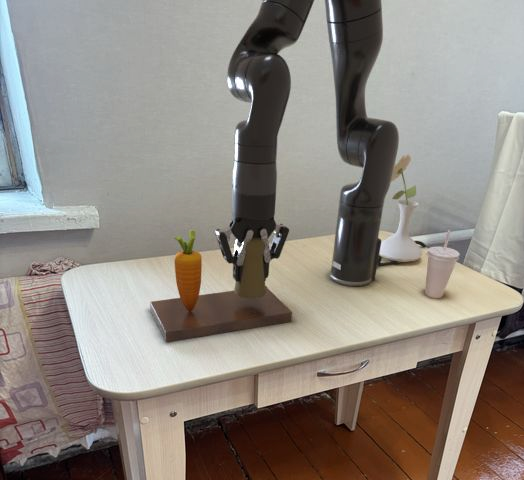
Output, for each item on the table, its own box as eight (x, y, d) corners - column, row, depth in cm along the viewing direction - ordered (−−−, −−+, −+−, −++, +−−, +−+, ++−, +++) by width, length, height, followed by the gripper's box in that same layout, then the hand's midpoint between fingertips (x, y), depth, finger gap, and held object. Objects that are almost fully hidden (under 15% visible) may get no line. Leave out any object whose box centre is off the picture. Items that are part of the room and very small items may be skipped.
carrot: (181, 319, 90) (178, 238, 82) (172, 308, 94) (168, 228, 86) (207, 314, 92) (206, 234, 84) (197, 303, 96) (195, 226, 88)
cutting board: (265, 294, 105) (266, 286, 104) (291, 321, 95) (292, 312, 94) (150, 311, 97) (149, 301, 95) (166, 342, 87) (165, 332, 86)
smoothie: (450, 292, 110) (467, 229, 103) (446, 303, 105) (463, 238, 98) (421, 285, 113) (435, 224, 105) (415, 296, 108) (430, 232, 100)
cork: (262, 300, 93) (265, 242, 87) (230, 296, 94) (231, 238, 88) (268, 287, 98) (271, 232, 92) (238, 283, 99) (239, 228, 93)
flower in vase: (399, 247, 134) (418, 147, 121) (430, 262, 126) (454, 156, 113) (360, 253, 129) (376, 150, 116) (389, 269, 120) (410, 159, 107)
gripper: (221, 195, 80) (221, 294, 89) (301, 191, 85) (293, 284, 94) (207, 184, 86) (208, 277, 95) (282, 181, 91) (276, 269, 100)
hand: (250, 280), depth 95 cm, fingers closed on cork, 4 cm apart
